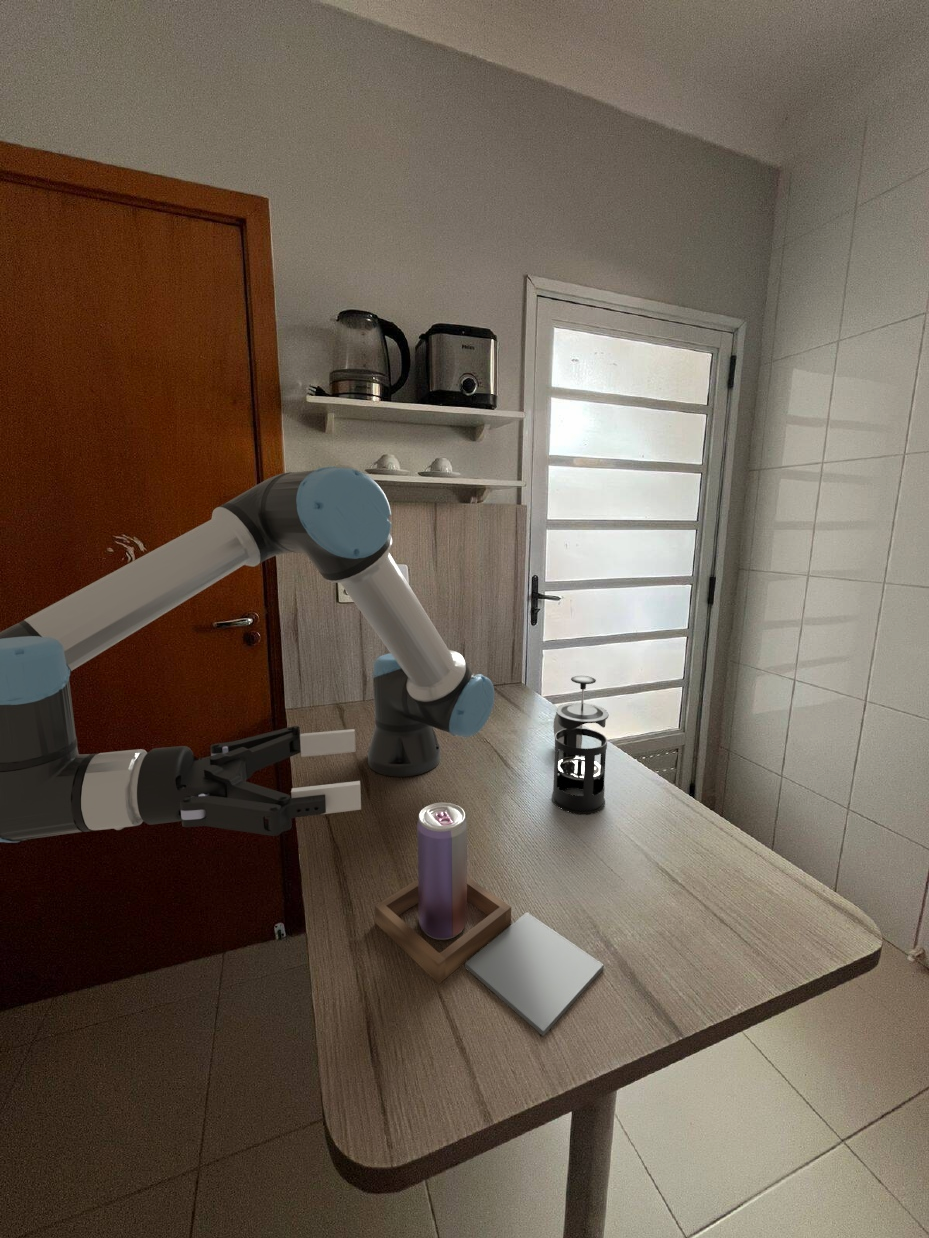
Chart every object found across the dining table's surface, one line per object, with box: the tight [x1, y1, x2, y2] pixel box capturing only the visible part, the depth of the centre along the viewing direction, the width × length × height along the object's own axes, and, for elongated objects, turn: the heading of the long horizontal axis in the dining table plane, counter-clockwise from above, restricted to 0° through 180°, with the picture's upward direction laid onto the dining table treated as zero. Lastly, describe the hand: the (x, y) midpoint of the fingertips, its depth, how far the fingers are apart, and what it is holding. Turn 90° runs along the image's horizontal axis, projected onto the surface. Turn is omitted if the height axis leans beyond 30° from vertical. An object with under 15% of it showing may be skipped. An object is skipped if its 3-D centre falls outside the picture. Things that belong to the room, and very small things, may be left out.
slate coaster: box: [464, 911, 604, 1037], centre depth 58 cm, size 11×11×1 cm
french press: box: [551, 675, 609, 815], centre depth 91 cm, size 12×9×23 cm
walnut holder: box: [374, 875, 512, 984], centre depth 64 cm, size 12×12×2 cm
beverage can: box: [416, 802, 468, 941], centre depth 63 cm, size 6×6×15 cm
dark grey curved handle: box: [553, 714, 580, 753], centre depth 110 cm, size 10×4×10 cm, turn 13°
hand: (357, 764), depth 58 cm, fingers open, 13 cm apart
